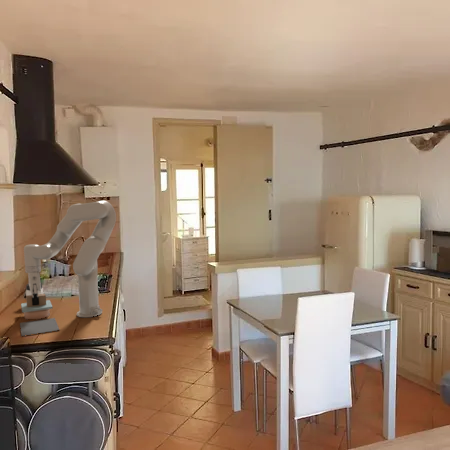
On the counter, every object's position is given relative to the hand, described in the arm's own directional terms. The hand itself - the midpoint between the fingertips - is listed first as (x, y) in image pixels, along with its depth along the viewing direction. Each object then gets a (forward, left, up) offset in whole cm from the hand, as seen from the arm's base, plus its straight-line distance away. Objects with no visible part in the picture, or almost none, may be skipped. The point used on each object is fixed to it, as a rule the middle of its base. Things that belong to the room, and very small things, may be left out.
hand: (35, 303), depth 232 cm
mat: (-18, +10, -7) cm, 21 cm away
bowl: (0, 0, -7) cm, 7 cm away
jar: (+19, -12, -7) cm, 23 cm away
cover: (0, 0, -2) cm, 2 cm away
